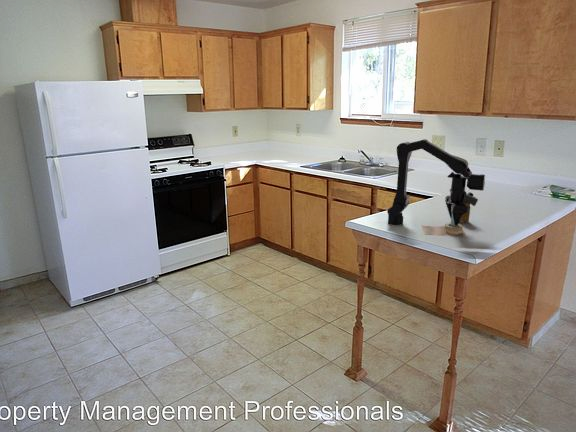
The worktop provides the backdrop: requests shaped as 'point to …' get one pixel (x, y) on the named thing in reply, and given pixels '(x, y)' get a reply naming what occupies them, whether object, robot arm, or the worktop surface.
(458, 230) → the bead
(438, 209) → the worktop surface
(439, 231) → the board
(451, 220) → the dowel
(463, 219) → the condiment
